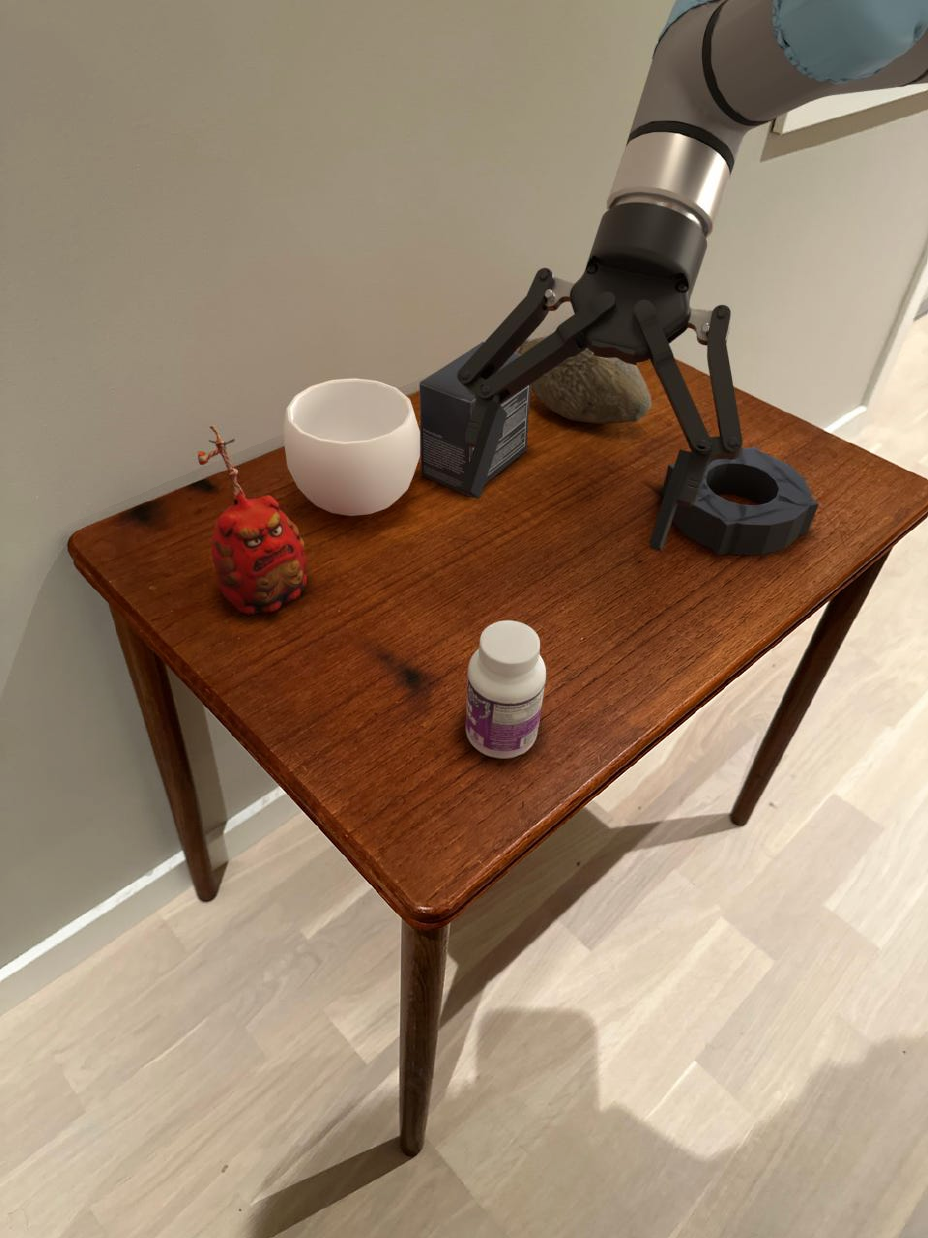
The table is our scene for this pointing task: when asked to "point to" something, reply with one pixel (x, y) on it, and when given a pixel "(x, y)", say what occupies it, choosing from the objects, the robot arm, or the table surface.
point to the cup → (351, 445)
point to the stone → (592, 388)
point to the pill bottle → (505, 690)
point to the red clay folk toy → (255, 548)
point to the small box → (464, 426)
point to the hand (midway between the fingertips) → (559, 520)
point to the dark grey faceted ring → (747, 526)
